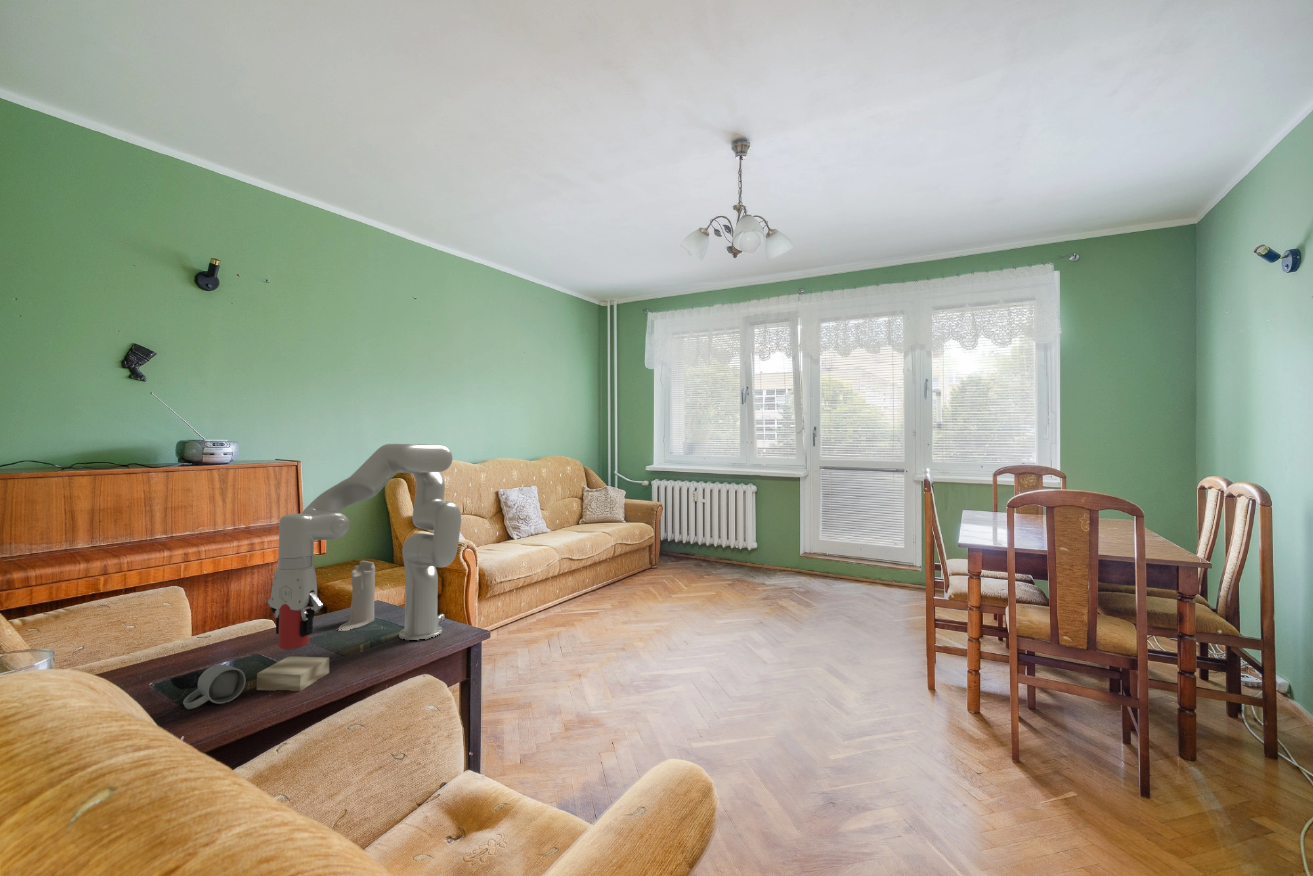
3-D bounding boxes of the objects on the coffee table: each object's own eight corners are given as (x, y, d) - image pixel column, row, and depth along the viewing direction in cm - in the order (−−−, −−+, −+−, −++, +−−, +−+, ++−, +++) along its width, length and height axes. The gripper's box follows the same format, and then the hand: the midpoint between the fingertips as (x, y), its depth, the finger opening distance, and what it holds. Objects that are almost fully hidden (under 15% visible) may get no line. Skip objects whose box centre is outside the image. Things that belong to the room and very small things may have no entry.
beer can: (293, 651, 137) (295, 602, 138) (271, 649, 139) (272, 601, 139) (315, 642, 144) (316, 595, 144) (293, 640, 145) (294, 594, 145)
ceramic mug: (231, 687, 137) (231, 656, 137) (246, 696, 133) (246, 664, 133) (177, 705, 128) (176, 672, 128) (191, 715, 124) (191, 680, 124)
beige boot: (330, 630, 179) (331, 568, 179) (360, 617, 193) (361, 559, 193) (350, 631, 178) (351, 569, 178) (378, 618, 192) (379, 560, 192)
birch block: (288, 671, 147) (289, 656, 147) (329, 672, 147) (329, 657, 147) (256, 689, 136) (257, 673, 136) (300, 691, 136) (300, 674, 136)
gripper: (254, 563, 140) (252, 635, 140) (312, 568, 136) (310, 642, 136) (281, 558, 147) (279, 626, 147) (336, 562, 143) (334, 632, 143)
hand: (294, 633), depth 141 cm, fingers closed on beer can, 6 cm apart
